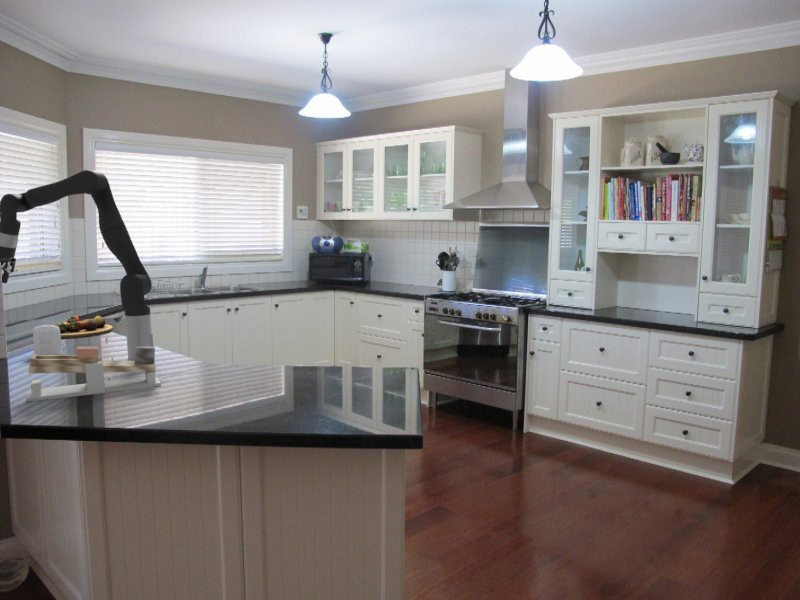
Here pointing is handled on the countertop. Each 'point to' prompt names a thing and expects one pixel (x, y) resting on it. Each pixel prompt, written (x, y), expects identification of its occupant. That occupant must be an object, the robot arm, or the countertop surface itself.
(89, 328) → the wooden plate with food
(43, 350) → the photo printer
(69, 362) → the beam
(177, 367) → the countertop surface
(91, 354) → the rider
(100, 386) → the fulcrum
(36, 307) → the countertop surface
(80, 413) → the countertop surface
